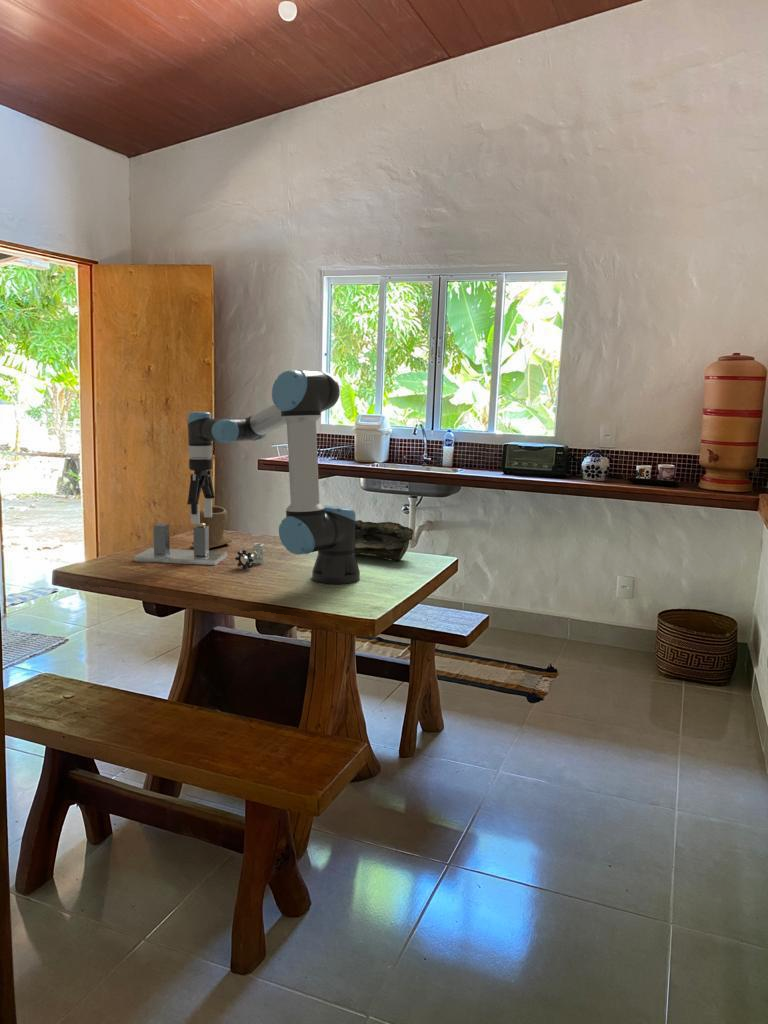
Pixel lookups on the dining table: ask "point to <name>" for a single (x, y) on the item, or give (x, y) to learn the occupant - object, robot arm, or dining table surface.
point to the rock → (382, 539)
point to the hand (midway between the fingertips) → (201, 520)
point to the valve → (252, 556)
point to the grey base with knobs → (175, 551)
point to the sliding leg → (201, 540)
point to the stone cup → (216, 526)
